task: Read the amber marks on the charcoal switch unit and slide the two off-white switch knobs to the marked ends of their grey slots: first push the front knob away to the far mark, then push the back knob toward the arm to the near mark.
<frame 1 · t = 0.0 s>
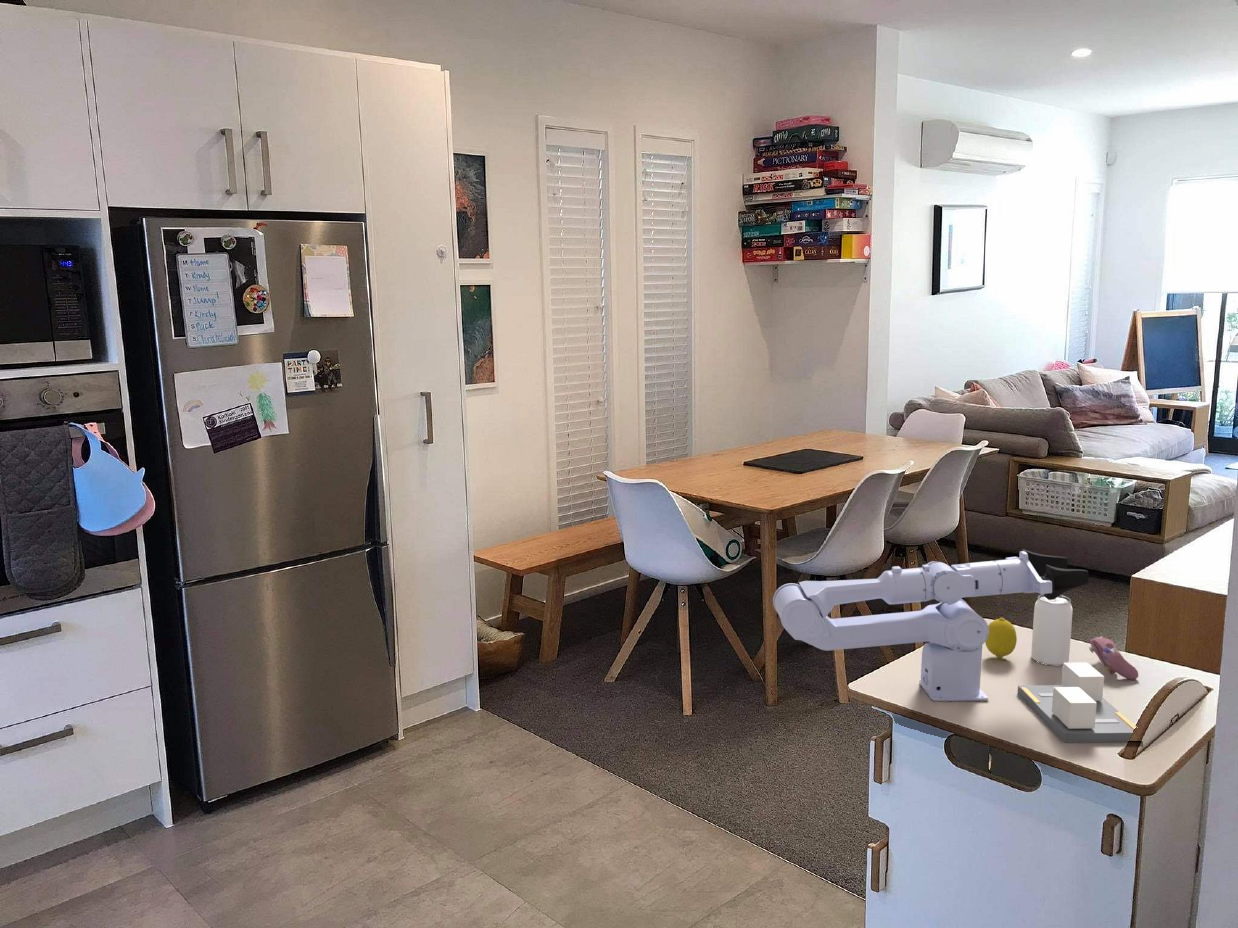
hand: (1076, 570, 165), 22 cm above the table, tool horizontal, fingers open, 7 cm apart
switch unit: (1076, 716, 159), on the table
lemon: (999, 659, 183), on the table
switch back: (1082, 681, 163), point 4 cm above the table, slide at 6.0 cm
can: (1049, 660, 182), on the table
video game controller: (1111, 671, 177), on the table
switch front: (1073, 707, 153), point 4 cm above the table, slide at 0.0 cm
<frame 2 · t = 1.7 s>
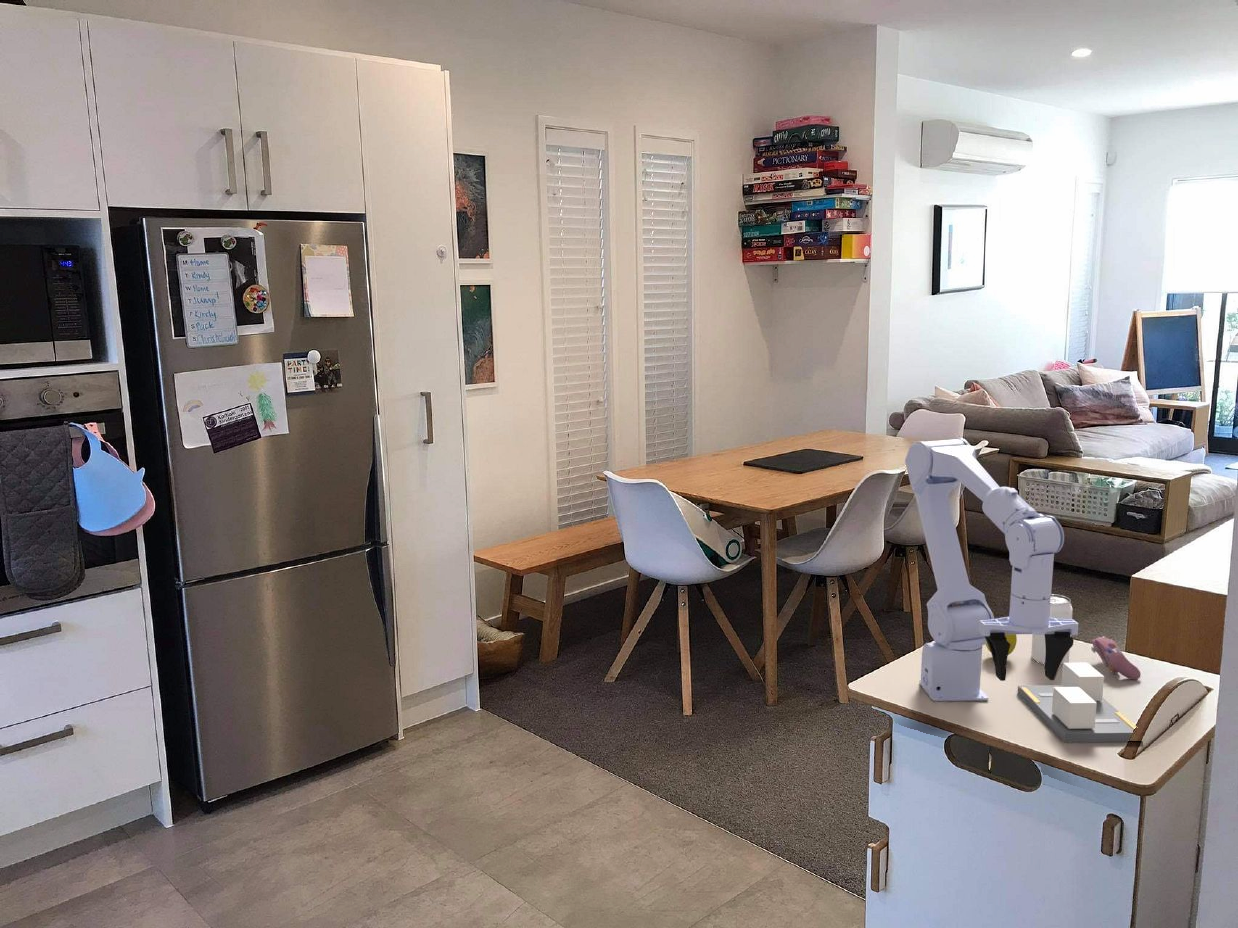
hand: (1025, 677, 152), 9 cm above the table, tool pointing down, fingers open, 7 cm apart
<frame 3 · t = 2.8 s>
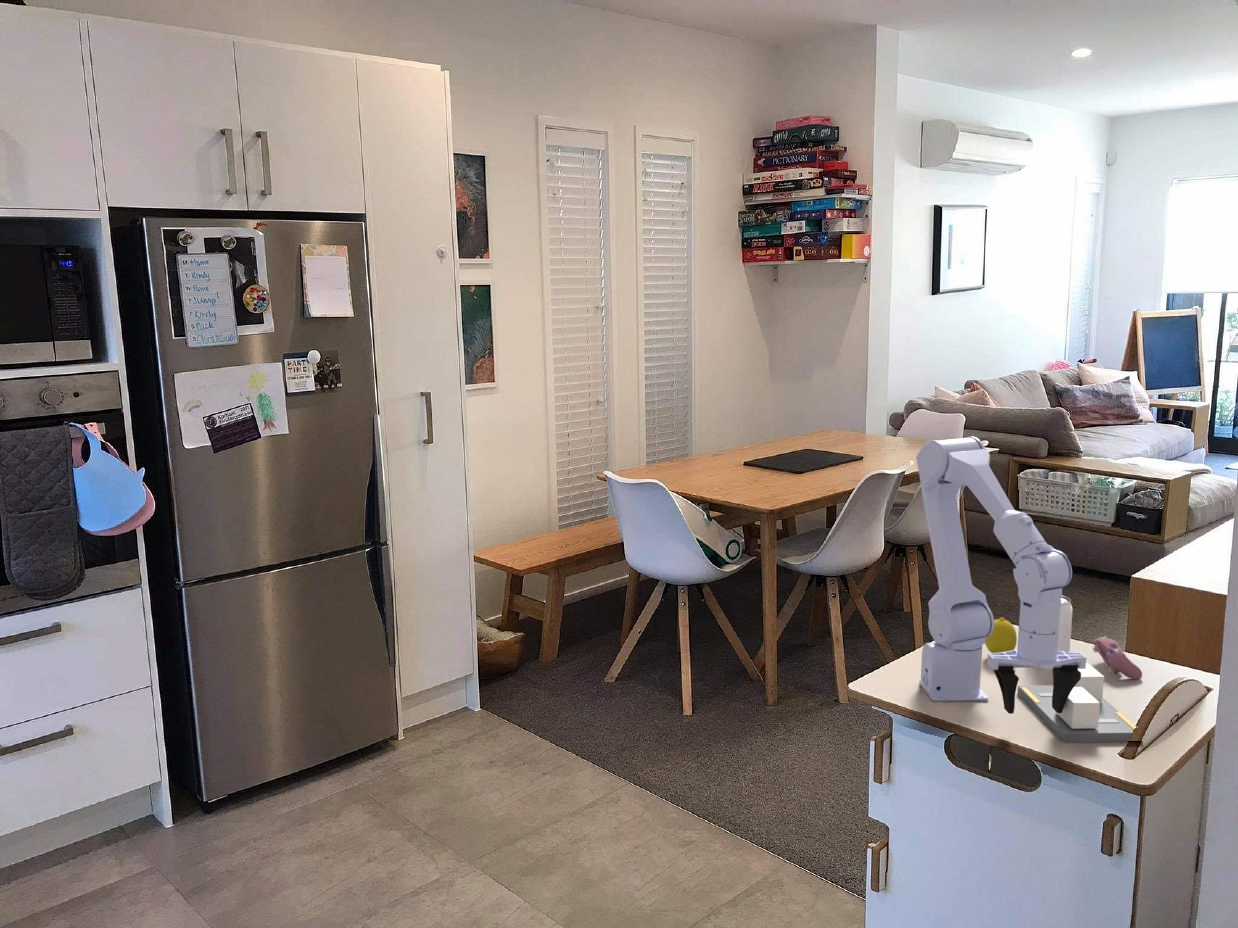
hand: (1032, 710, 153), 3 cm above the table, tool pointing down, fingers open, 7 cm apart
switch front: (1077, 707, 153), point 4 cm above the table, slide at 0.5 cm, touching gripper
everything else where it was.
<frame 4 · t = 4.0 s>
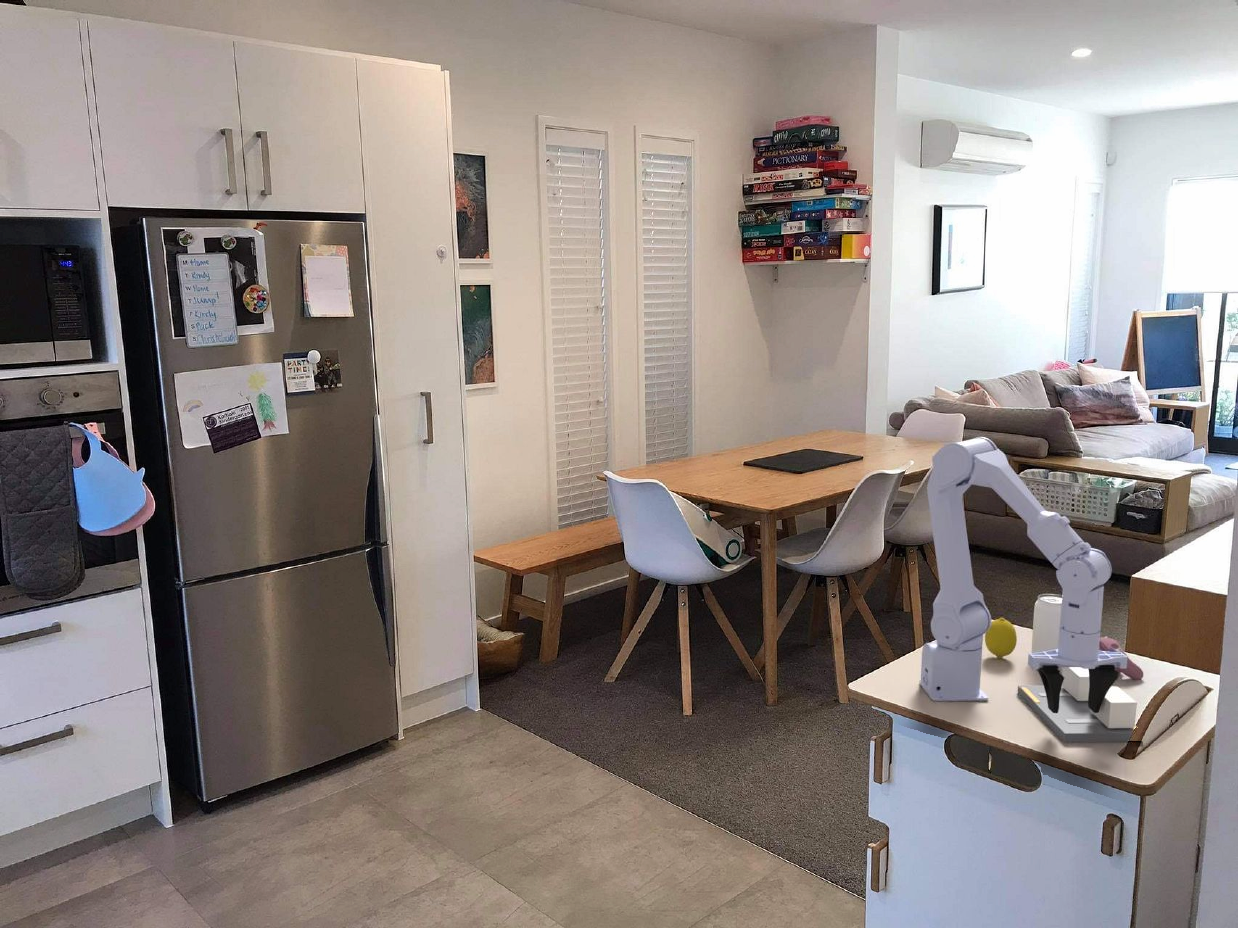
hand: (1073, 710, 153), 3 cm above the table, tool pointing down, fingers open, 6 cm apart
switch front: (1113, 706, 153), point 4 cm above the table, slide at 6.2 cm, touching gripper
everything else where it was.
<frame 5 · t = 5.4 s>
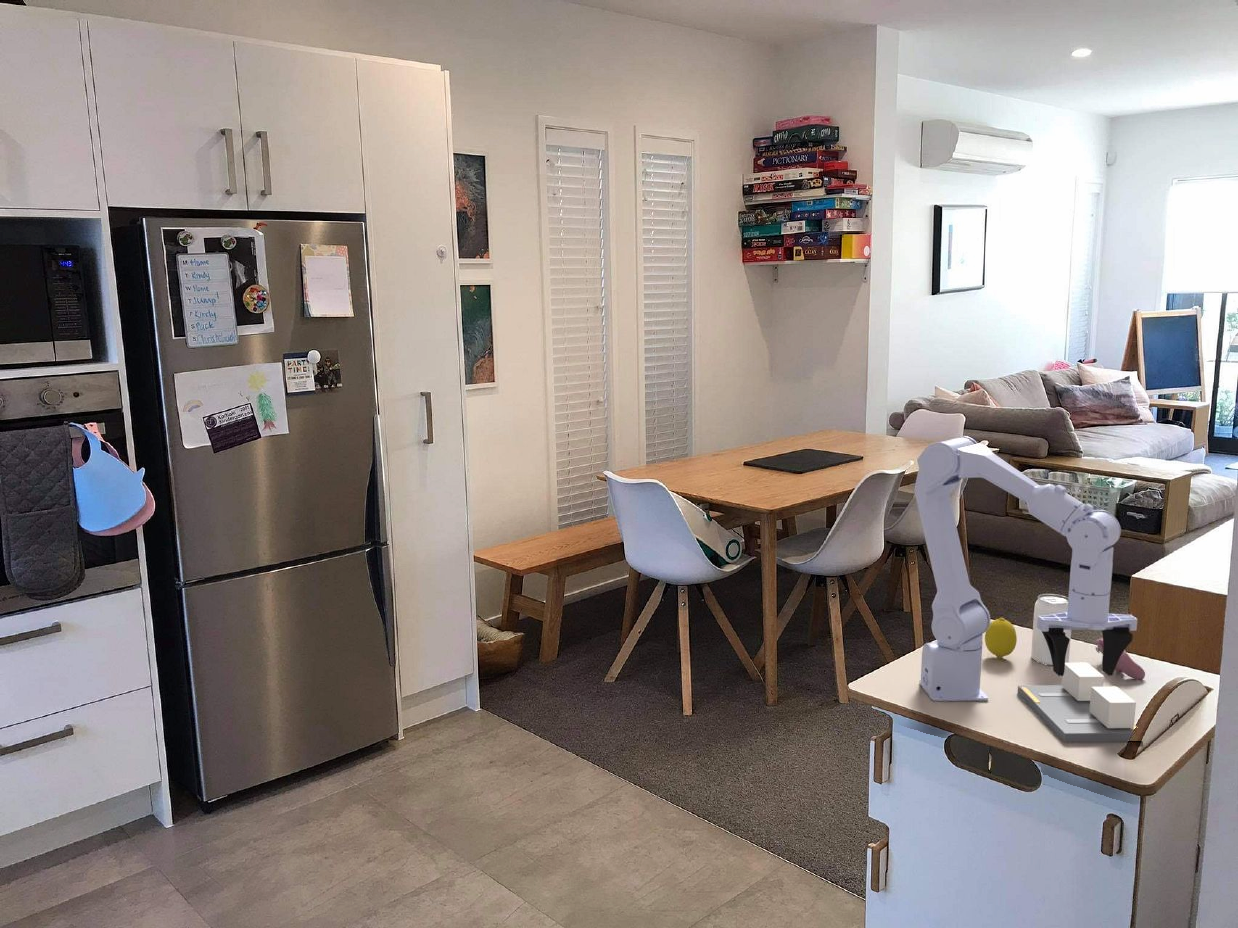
hand: (1082, 673, 152), 9 cm above the table, tool pointing down, fingers open, 7 cm apart
switch front: (1112, 706, 153), point 4 cm above the table, slide at 6.0 cm
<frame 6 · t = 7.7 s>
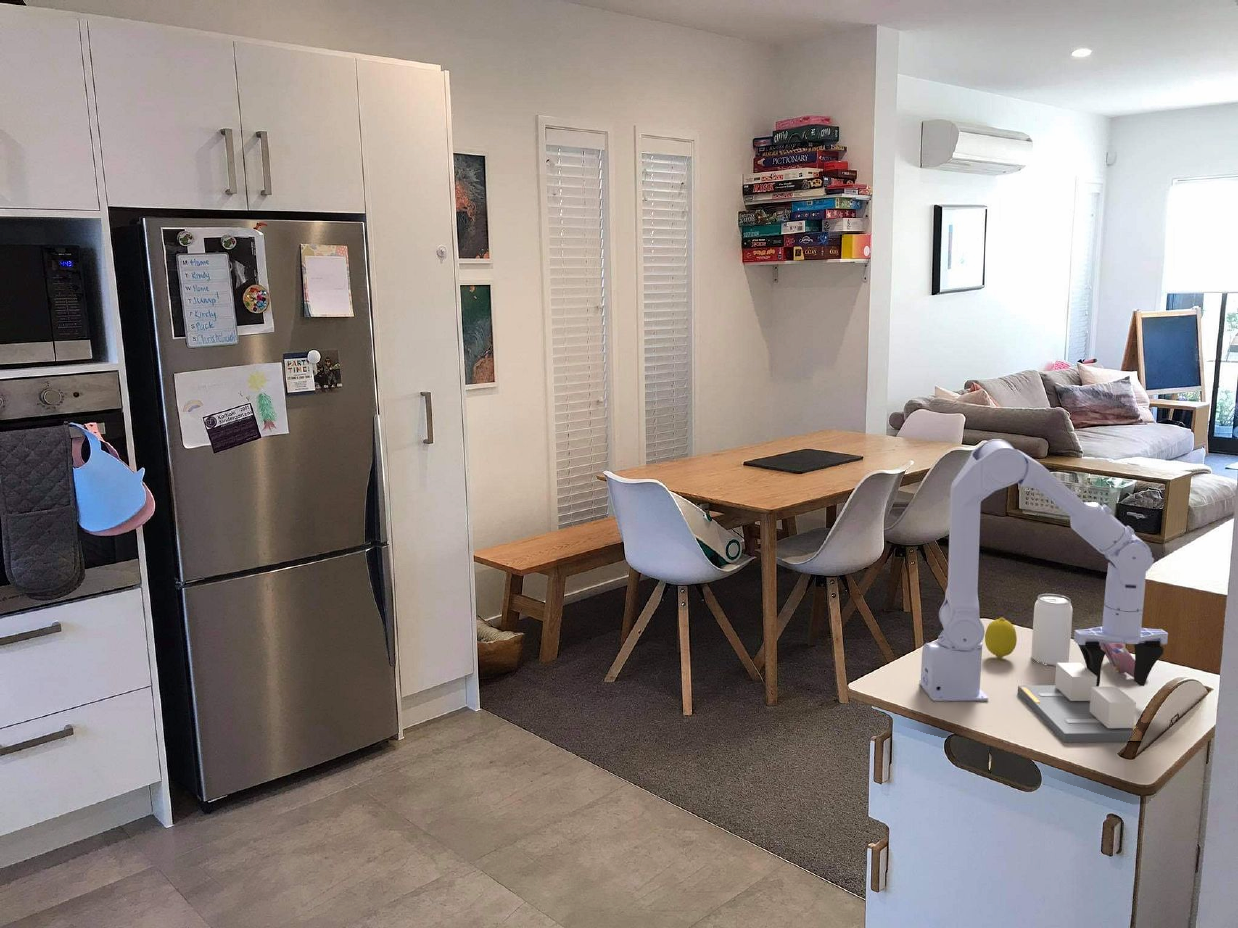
hand: (1116, 683, 163), 3 cm above the table, tool pointing down, fingers open, 7 cm apart
switch back: (1075, 681, 163), point 4 cm above the table, slide at 4.8 cm, touching gripper
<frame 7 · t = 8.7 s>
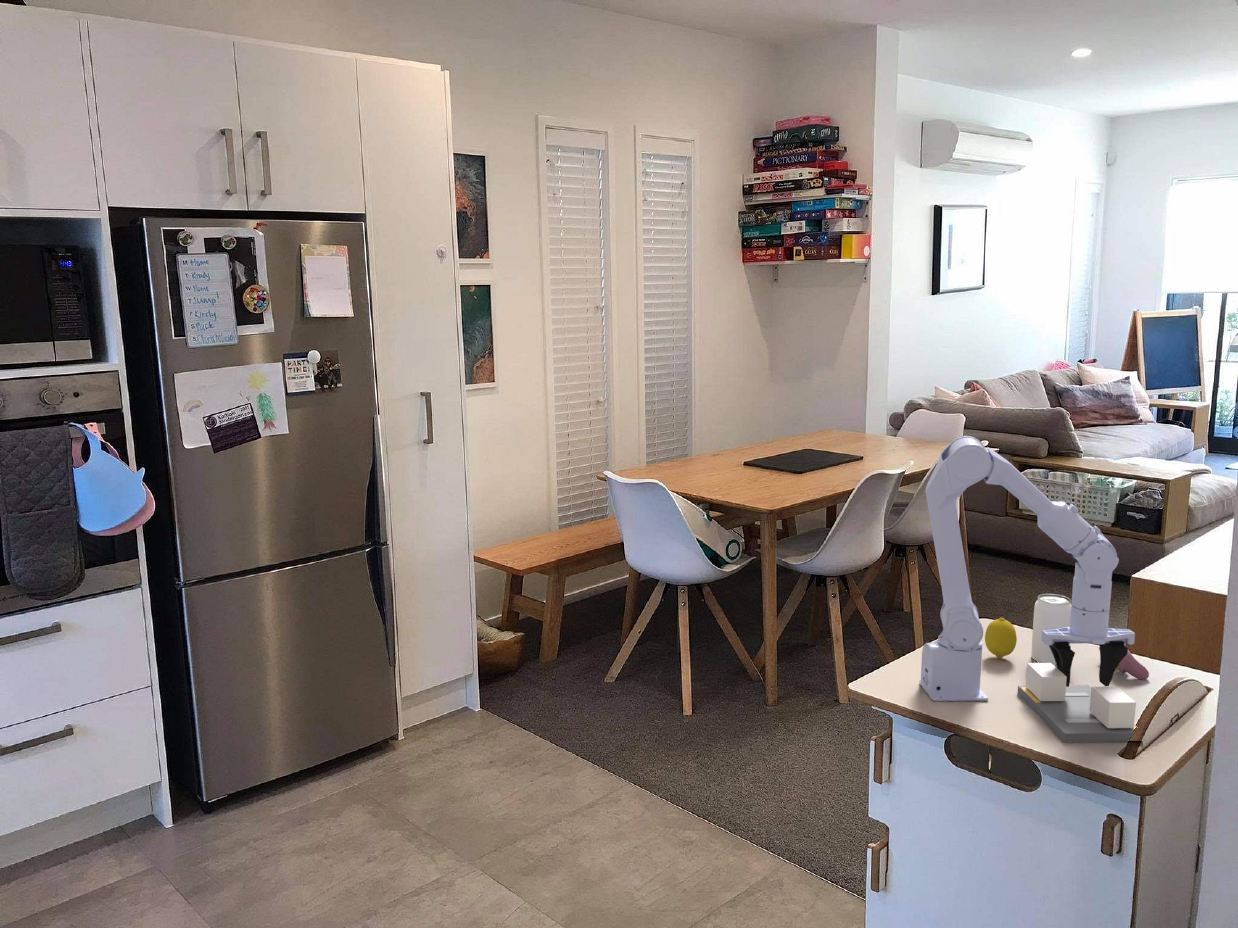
hand: (1084, 684, 163), 3 cm above the table, tool pointing down, fingers open, 6 cm apart
switch back: (1045, 681, 163), point 4 cm above the table, slide at -0.1 cm, touching gripper
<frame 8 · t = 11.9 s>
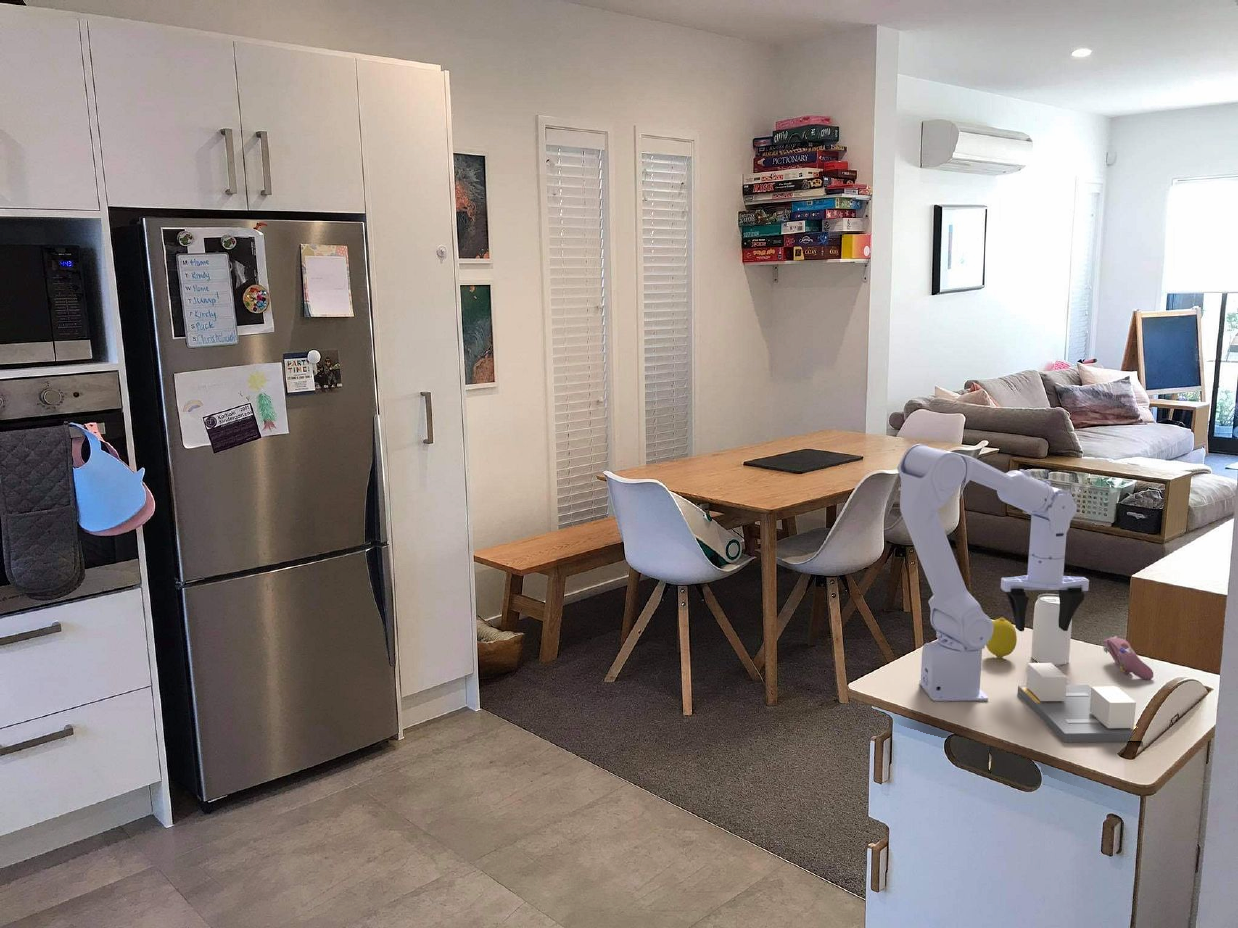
hand: (1041, 629, 172), 9 cm above the table, tool pointing down, fingers open, 7 cm apart
switch back: (1046, 681, 163), point 4 cm above the table, slide at 0.0 cm
at the end: switch front slide at 6.0 cm; switch back slide at 0.0 cm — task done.
